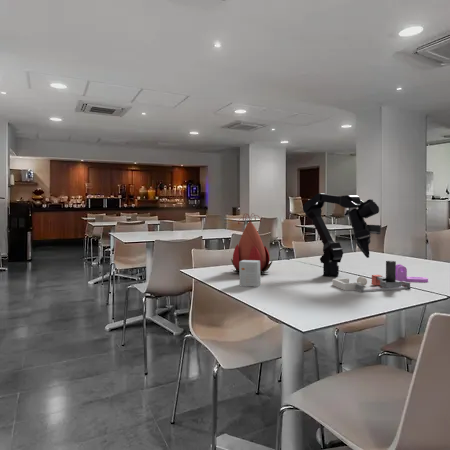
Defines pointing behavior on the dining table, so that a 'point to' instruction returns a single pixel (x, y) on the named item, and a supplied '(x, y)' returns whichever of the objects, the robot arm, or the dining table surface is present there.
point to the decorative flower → (251, 248)
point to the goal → (344, 284)
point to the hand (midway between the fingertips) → (368, 256)
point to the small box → (249, 273)
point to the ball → (362, 281)
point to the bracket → (402, 275)
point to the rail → (366, 289)
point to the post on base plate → (387, 276)
